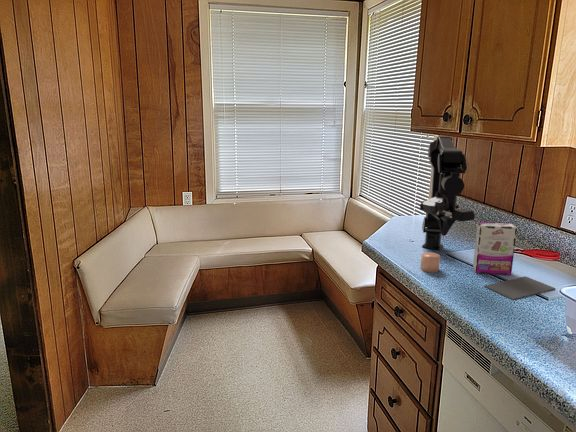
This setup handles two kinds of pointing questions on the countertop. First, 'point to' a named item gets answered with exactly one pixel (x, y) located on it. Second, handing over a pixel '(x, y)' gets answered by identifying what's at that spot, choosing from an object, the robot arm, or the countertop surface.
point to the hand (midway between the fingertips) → (443, 235)
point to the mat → (519, 287)
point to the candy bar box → (494, 248)
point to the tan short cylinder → (430, 262)
